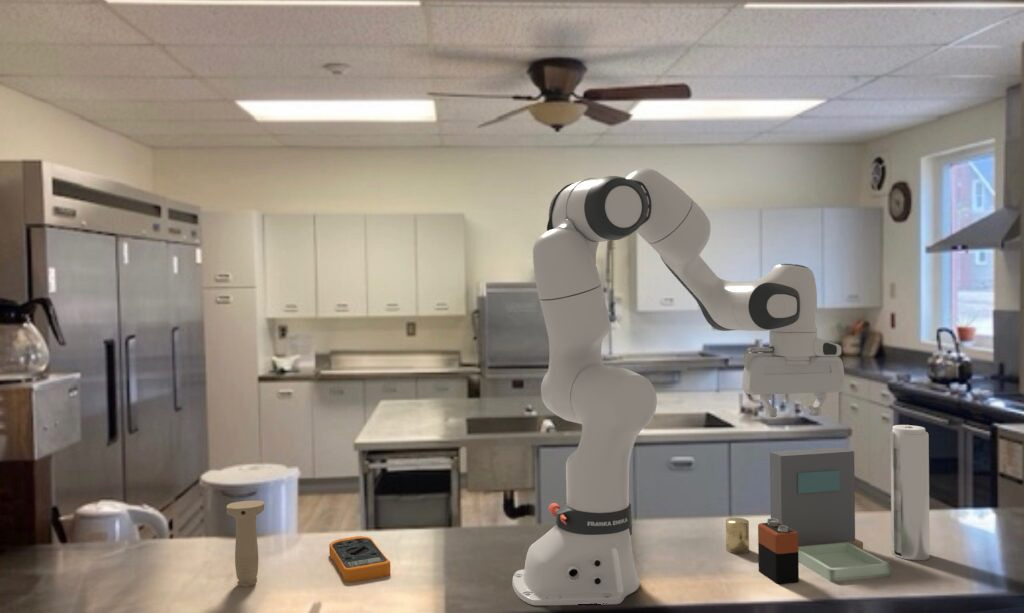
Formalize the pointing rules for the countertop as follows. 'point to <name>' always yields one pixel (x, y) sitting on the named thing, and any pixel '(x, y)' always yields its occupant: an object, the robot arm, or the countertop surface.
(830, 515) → the control unit
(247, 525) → the handle
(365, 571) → the multimeter
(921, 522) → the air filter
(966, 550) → the countertop surface
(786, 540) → the battery
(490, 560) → the countertop surface
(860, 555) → the tray
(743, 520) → the yellow translucent cylinder
